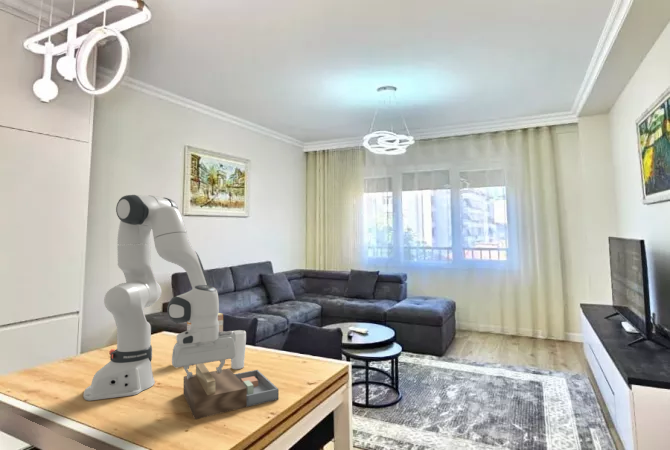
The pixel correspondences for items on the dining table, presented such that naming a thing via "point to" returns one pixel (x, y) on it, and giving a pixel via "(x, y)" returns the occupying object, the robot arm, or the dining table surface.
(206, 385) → the bar
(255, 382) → the terracotta tile
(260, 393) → the box
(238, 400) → the walnut platform
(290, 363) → the dining table surface
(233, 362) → the drinking glass
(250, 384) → the sage tile
